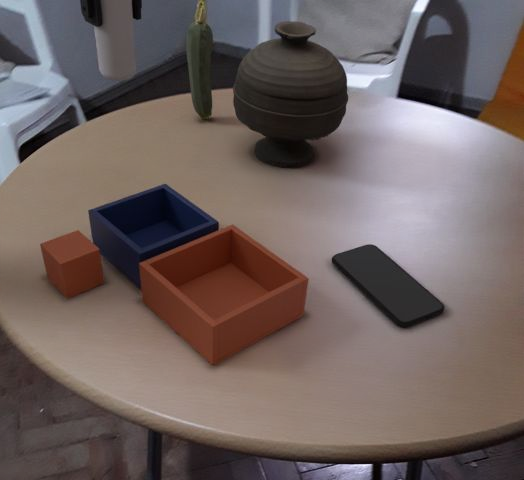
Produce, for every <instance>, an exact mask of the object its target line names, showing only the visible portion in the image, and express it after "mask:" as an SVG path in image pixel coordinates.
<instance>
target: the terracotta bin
mask: <svg viewBox="0 0 524 480" xmlns="http://www.w3.org/2000/svg"><path fill="white" fill-rule="evenodd" d="M139 268H140V279H141V289H142V291H141V297H142V299H141V300H142V303H144V304H145V305H146V306H147V307H148V308H149V309H150V310H152V312H154V313H155V314H156V315H157V316H158V317H159V318H160V319H161V320H162V321H163V322H164V323H166V324H167V325H168V326H169V327H170V328H171V329H172V330H173V331H174V332H175V333H176V334H177V335H178V336H180V337H181V338H182V339H183V340H184V341H185V343H187V344H188V345H190V346H191V347H192V348H193V349H194V350H195V351H196V352H197V353H198V354H200V355H201V357H203V358H204V359H205V360H206V361H207V362H208V363H209V364H210V365H211V366H214V365H217V364H218V363H220V362H222V361H224V360H225V359H227V358H229V357H231V356H233V355H234V354H237V353H238V352H240V351H242V350H244V349H245V348H248V347H249V346H251V345H254V344H255V343H256V342H258V341H260V340H263V339H264V338H266V337H268V336H270V335H271V334H273V333H275V332H277V331H278V330H281V329H282V328H283V327H285V326H288V325H289V324H291V323H293V322H295V321H296V320H298V319H300V318H302V317H304V316H305V315H304V314H305V308H306V300H307V293H308V285H309V277H308V276H307V275H305V274H303V273H302V272H300V271H299V270H298V269H297V268H295V267H293V266H292V265H291V264H289V263H288V262H286V261H285V260H284V259H282V258H281V257H280V256H279V255H276V254H275V253H274V252H273V251H271V250H269V249H268V248H267V247H266V246H264V245H262V244H261V243H260V242H258V241H257V240H255V238H253V237H251V236H250V235H249V234H247V233H246V232H244V231H243V230H241V229H240V228H238V227H237V226H236V225H234V224H230V225H227V226H226V227H223V228H220V229H219V230H218V231H216V232H213V233H211V234H208V235H206V236H204V237H201V238H199V239H196V240H194V241H192V242H189V243H187V244H184V245H182V246H180V247H177V248H175V249H172V250H170V251H167V252H165V253H163V254H160V255H158V256H155V257H153V258H151V259H148V260H146V261H143V262H141V263H139Z"/></svg>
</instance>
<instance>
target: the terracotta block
mask: <svg viewBox="0 0 524 480" xmlns="http://www.w3.org/2000/svg"><path fill="white" fill-rule="evenodd" d="M39 246H40V251H41V255H42V259H43V265H44V269H45V273H46V278H47V280H49V281H50V282H51V283H52V284H53V285H54V286H55V288H57V290H58V291H60V292H61V293H62V294H63V296H64V297H65V298H66V299H70V298H72V297H74V296H77V295H79V294H82V293H85V292H86V291H89V290H91V289H93V288H94V289H95V288H96V287H98V286H101V285H103V284H105V277H104V270H103V264H102V257H101V256H102V255H101V254H100V249H99V248H98V247H97V246H96V245H94V244H93V241H91V240H90V239H89V238H88V237H87V236H86V235H85V234H83V233H82V231H80V230H79V229H76V230H74V231H72V232H71V231H70V232H68V233H66V234H63V235H60V236H57V237H54V238H52V239H48V240H47V241H43V242H41V243H39Z"/></svg>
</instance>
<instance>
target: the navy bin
mask: <svg viewBox="0 0 524 480" xmlns="http://www.w3.org/2000/svg"><path fill="white" fill-rule="evenodd" d="M87 213H88V220H89V226H90V227H89V228H90V232H91V239H92V243H93V244H94V245H96V246H97V247H98V248H99V249H100V255H101V256H102V257H103V258H104V259H106V260H107V261H108V262H109V263H110V264H111V265H112V266H113V267H114V268H116V269H117V270H118V271H119V273H121V274H122V275H123V276H125V277H126V278H127V279H128V280H129V281H130V282H131V283H132V284H133V285H134V286H135V287H137V288H138V289H139V290H140V291H141V292H142V289H141V279H140V268H139V263H141V262H143V261H146V260H148V259H151V258H153V257H155V256H158V255H160V254H163V253H165V252H167V251H170V250H172V249H175V248H177V247H180V246H182V245H184V244H187V243H189V242H192V241H194V240H196V239H199V238H201V237H204V236H206V235H208V234H211V233H213V232H216V231H218V230H220V222H219V221H218V220H217V219H216V218H215V217H213V216H212V215H210V214H209V213H207V212H205V210H203V209H202V208H201V207H199V206H197V205H196V204H195V203H194V202H192V201H191V200H189V199H188V198H186V197H185V196H184V195H182V194H181V193H179V191H177V190H175V189H174V188H172V187H171V186H169V185H168V184H167V183H163V184H162V183H161V185H157V186H154V187H151V188H148V189H145V190H143V191H139V192H137V193H134V194H130V195H128V196H125V197H122V198H120V199H116V200H114V201H111V202H108V203H105V204H102V205H99V206H96V207H94V208H91V209H88V210H87Z"/></svg>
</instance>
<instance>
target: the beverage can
mask: <svg viewBox="0 0 524 480" xmlns="http://www.w3.org/2000/svg"><path fill="white" fill-rule="evenodd" d="M100 2H101V12H102V22H103V24H102V26H100V27H96V26H94V25H93V28H94V29H93V30H94V36H95V45H96V54H97V62H98V63H97V64H98V70H99V73H100V74H101V75H102V76H103V77H104V78H105V79H107V80H111V81H125V80H130V79H132V78H133V77H134V76H135V74H136V73H137V57H136V43H135V30H134V28H135V27H134V18H133V12H132V0H100Z"/></svg>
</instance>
